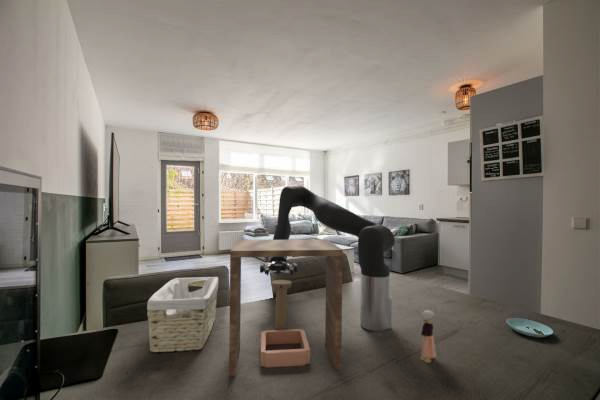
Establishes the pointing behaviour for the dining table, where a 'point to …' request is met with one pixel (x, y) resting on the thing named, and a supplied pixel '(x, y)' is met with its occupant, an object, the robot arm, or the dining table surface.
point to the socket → (284, 356)
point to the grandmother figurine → (427, 337)
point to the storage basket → (182, 314)
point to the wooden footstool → (289, 250)
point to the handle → (281, 302)
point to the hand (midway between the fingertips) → (279, 272)
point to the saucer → (521, 326)
